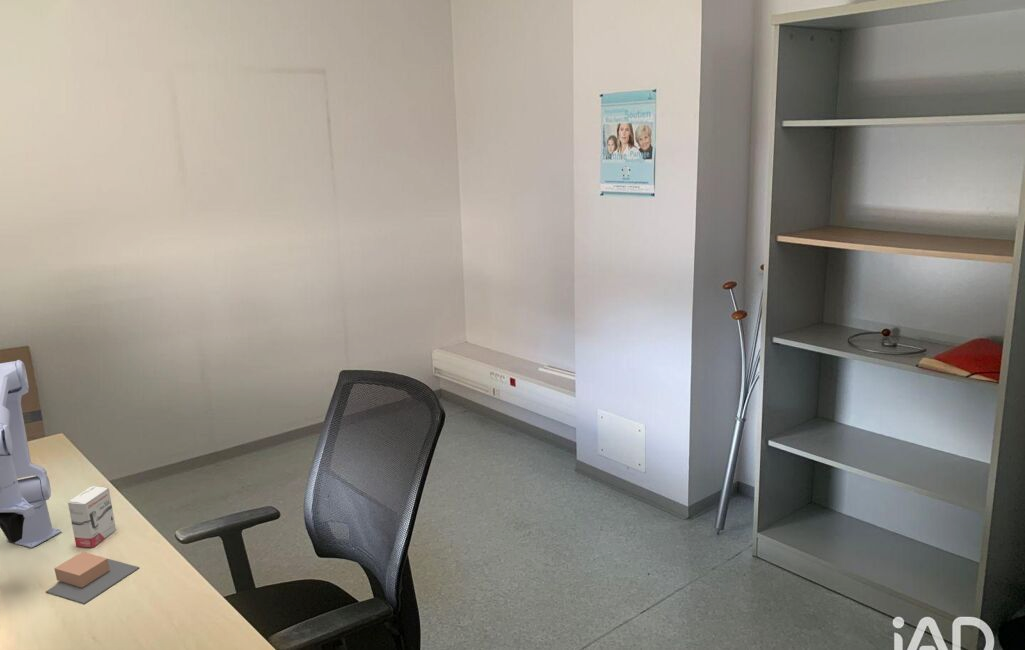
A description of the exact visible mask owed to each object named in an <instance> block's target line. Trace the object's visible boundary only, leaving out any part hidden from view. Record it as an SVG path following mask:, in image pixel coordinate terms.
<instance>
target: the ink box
mask: <svg viewBox="0 0 1025 650" xmlns="http://www.w3.org/2000/svg"><path fill="white" fill-rule="evenodd" d="M111 499H112V498H111V493H110V487H106V486H96V485H92V486H90V487H88V488H86V489H85V490H83V491H82V492H80V493H79V494H77V495H76V496H74V497H73V498H71V499H70V500H69V501H68V502H67V505H68V511H69V515H70V516H69V517H70V520H71V526H72V531H73V537H74V542H75V546H76V547H81V548H82V547H83V548H95V547H96V546H97V545H99V544H100V543H101V542H102V541H103V540H105V539H106V538H107V537H109V536H110V535H111V534H113V533H114V532H115V531H117V525H116V521H115V516H114V515H115V514H114V510H113V504H112V500H111Z"/></svg>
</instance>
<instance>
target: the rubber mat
mask: <svg viewBox="0 0 1025 650" xmlns="http://www.w3.org/2000/svg"><path fill="white" fill-rule="evenodd" d="M107 559H108V564H109V568H110V571H108V572H106V573H105V574H103V575H102V576H100V577H98V578H97V579H95V580H94V581H92V582H90V583H89V584H87V585H86V586H84V587H83V588H81V587H78V586H74V585H71V584H68V583H65V582H61V581H59V583H57V584H56V585H54V586H52V587H50V588H49V589H47V590H45V593H46V594H50V595H53V596H56V597H60V598H63V599H66V600H69V601H72V602H74V603H75V602H76V603H79V604H82V605H86V604H88V603H89V602H90V601H92V600H93V599H95V598H97V597H98V596H100V595H101V594H103V593H104V592H106V591H107V590H109V589H110V588H112V587H113V586H115V585H117V584H118V583H120V582H121V581H122V580H124V579H125V578H127V577H129V576H130V575H132V574H133V573H134V571H135V572H136V571H137V570H139V569H140V566H137V565H132V564H129V563H125V562H122V561H118V560H115V559H111V558H107ZM128 575H129V576H128Z"/></svg>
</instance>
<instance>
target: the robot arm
mask: <svg viewBox="0 0 1025 650" xmlns="http://www.w3.org/2000/svg"><path fill="white" fill-rule="evenodd" d="M29 388H30V385H29V381H28V375H27V370H26V366H25V362H24V361H22V360H21V359H17V360H14V361H8V362H2V363H1V362H0V529H1V531H2V532H3V534H4V536H5V537H6V542H9V543H11V544H15V545H19V546H20V545H21V546H24V547H27V548H31V549H32V548H35V547H36V546H38V545H40V544H43V543H44V542H45V541H47V540H49V539H51V538H53V537H55V536H57V535H58V534H60V533H62V530H61V529H60V528H55V527H53V526H52V525H53V524H52V521H51V517H50V516H51V515H50V511H49V507H48V505H47V501H48V500H50V498H51V497H52V488H51V482H50V479H49V476H48V472H47V470H46V468H45V467H43V466H40V465H38V464H35V463H33V462H32V459H31V454H30V449H29V444H28V443H29V442H28V437H27V431H26V426H25V420H24V415H23V409H22V397H23V396H24V395H25V394H28V393H29Z"/></svg>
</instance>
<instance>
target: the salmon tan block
mask: <svg viewBox="0 0 1025 650" xmlns="http://www.w3.org/2000/svg"><path fill="white" fill-rule="evenodd" d="M108 559H109V558H106V557H104V556H101V555H96V554H93V553H89V552H85V551H81V552H80V553H78V554H76V555H75V556H72V557H71V558H69V559H68V560H66V561H64V562H63V563H60V564H59V565H57V566H55V567H54V568H53V569H54V573H55V578H56V580H57V581H59V582H65V583H68V584H71V585H74V586H78V587H81V588H83V587H84V586H86V585H87V584H89V583H90V582H92V581H94V580H95V579H97V578H98V577H100V576H102V575H103V574H105V573H106V572H108V571H110V568H109V564H108Z"/></svg>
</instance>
